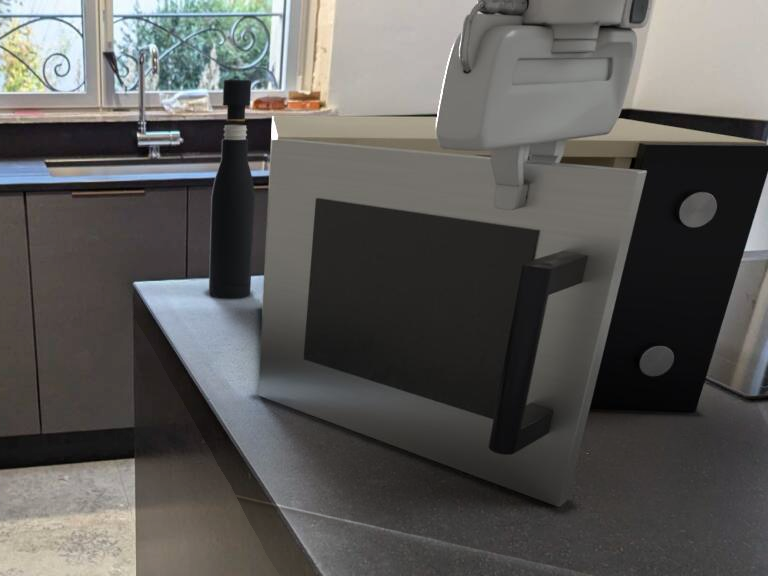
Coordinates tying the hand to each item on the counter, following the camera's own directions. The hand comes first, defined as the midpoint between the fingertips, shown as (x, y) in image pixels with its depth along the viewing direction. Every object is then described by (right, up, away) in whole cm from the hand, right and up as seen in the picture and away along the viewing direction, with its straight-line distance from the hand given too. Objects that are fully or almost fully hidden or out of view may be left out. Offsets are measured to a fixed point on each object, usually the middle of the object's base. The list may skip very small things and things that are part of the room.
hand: (519, 206), depth 62 cm
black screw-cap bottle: (-17, +6, +65) cm, 67 cm away
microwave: (+7, -7, +39) cm, 40 cm away
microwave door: (-8, -19, +13) cm, 24 cm away
